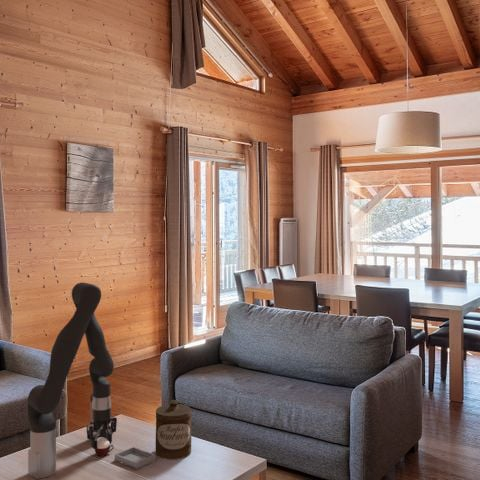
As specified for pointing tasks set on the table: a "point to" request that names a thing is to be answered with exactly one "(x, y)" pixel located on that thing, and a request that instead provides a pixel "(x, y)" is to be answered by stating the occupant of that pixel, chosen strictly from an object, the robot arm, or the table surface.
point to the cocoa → (103, 446)
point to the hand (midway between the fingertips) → (102, 445)
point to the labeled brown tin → (173, 431)
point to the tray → (135, 457)
